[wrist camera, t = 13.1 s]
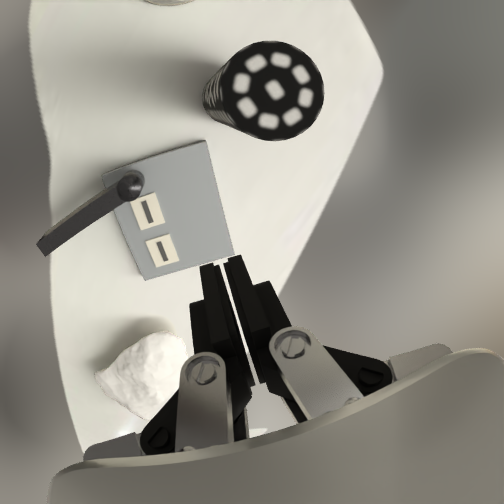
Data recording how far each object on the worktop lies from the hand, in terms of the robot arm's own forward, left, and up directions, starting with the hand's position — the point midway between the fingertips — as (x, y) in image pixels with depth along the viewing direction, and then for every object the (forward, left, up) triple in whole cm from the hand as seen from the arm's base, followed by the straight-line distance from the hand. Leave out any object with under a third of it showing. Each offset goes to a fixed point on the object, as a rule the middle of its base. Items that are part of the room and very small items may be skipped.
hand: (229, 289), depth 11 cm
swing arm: (+2, -17, -29) cm, 33 cm away
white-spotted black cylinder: (-7, +7, -32) cm, 34 cm away
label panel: (+8, -6, -32) cm, 34 cm away
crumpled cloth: (+41, -25, -32) cm, 58 cm away
